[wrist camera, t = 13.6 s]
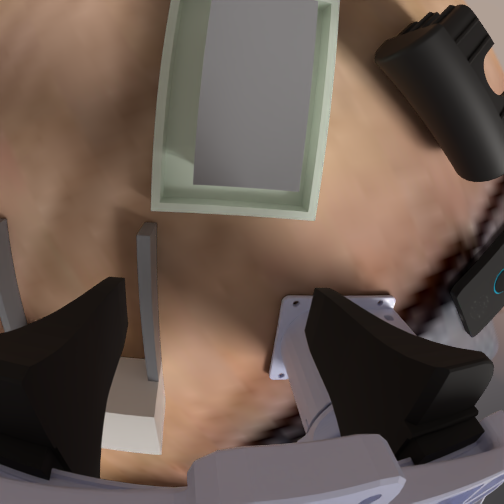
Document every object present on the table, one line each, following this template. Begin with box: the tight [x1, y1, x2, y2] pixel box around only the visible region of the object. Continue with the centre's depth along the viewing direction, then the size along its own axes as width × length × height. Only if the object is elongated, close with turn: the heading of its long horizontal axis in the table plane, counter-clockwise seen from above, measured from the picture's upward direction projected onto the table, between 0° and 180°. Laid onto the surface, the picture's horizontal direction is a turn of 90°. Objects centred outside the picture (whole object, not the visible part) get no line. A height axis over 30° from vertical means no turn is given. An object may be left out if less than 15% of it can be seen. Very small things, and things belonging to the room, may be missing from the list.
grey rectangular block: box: [193, 0, 318, 192], centre depth 14 cm, size 5×10×6 cm, turn 174°
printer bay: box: [0, 219, 166, 455], centre depth 19 cm, size 13×16×6 cm
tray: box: [151, 0, 340, 221], centre depth 16 cm, size 10×14×2 cm
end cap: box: [375, 5, 504, 182], centre depth 15 cm, size 10×7×7 cm
